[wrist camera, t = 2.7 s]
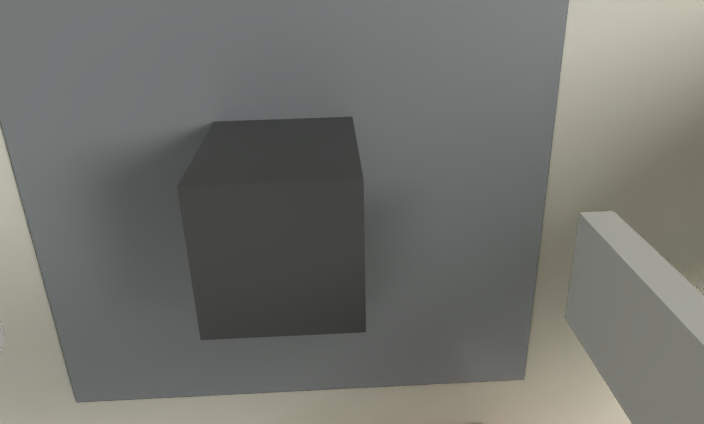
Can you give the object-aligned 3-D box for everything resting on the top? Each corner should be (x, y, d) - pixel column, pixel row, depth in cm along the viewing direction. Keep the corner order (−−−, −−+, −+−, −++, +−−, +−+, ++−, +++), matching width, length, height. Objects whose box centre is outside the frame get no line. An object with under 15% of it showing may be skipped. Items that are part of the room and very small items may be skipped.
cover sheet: (84, 387, 22) (11, 527, 17) (-44, -106, 16) (-230, -128, 10) (517, 365, 23) (576, 495, 17) (571, -121, 16) (693, -148, 11)
